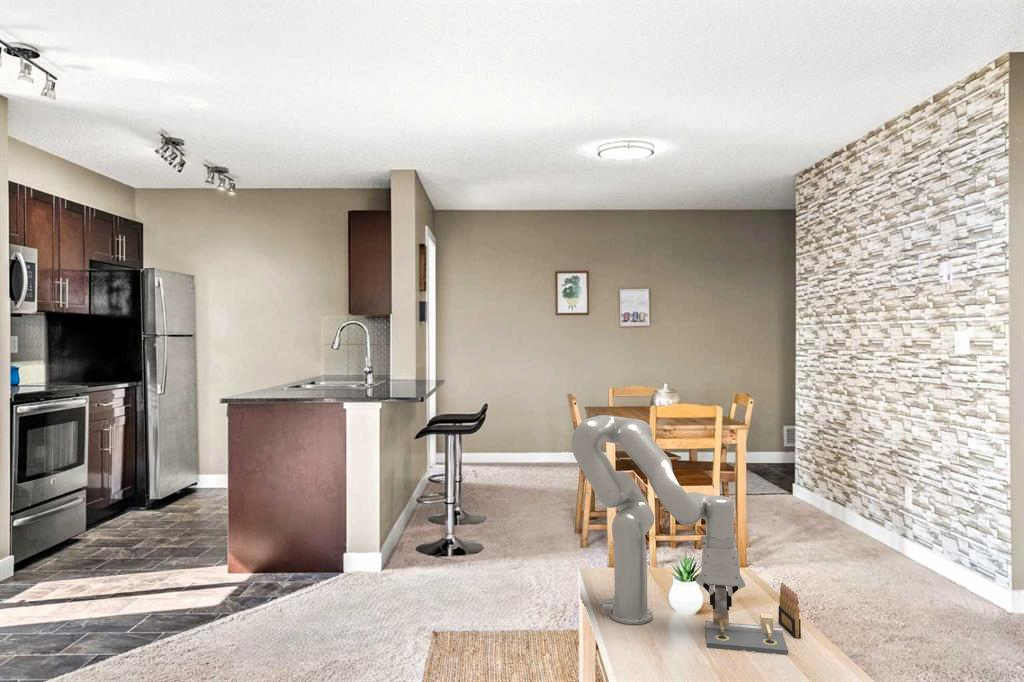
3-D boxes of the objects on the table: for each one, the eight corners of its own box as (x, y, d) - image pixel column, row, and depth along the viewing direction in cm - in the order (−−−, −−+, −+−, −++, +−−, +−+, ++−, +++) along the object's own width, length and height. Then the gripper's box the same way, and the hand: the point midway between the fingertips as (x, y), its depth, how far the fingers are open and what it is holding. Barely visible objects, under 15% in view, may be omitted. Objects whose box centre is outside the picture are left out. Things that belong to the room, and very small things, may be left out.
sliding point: (714, 635, 184) (714, 595, 184) (713, 622, 193) (712, 584, 193) (730, 636, 183) (729, 596, 183) (728, 623, 192) (727, 585, 192)
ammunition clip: (801, 638, 186) (800, 594, 186) (794, 638, 186) (793, 594, 186) (784, 622, 197) (784, 580, 197) (778, 623, 197) (777, 580, 197)
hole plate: (707, 647, 181) (706, 626, 181) (705, 625, 196) (705, 605, 196) (788, 655, 176) (788, 633, 176) (780, 631, 191) (780, 611, 191)
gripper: (689, 543, 189) (690, 610, 189) (752, 547, 185) (753, 616, 185) (689, 536, 197) (690, 601, 197) (749, 539, 193) (750, 605, 193)
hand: (720, 607), depth 191 cm, fingers closed on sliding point, 3 cm apart
